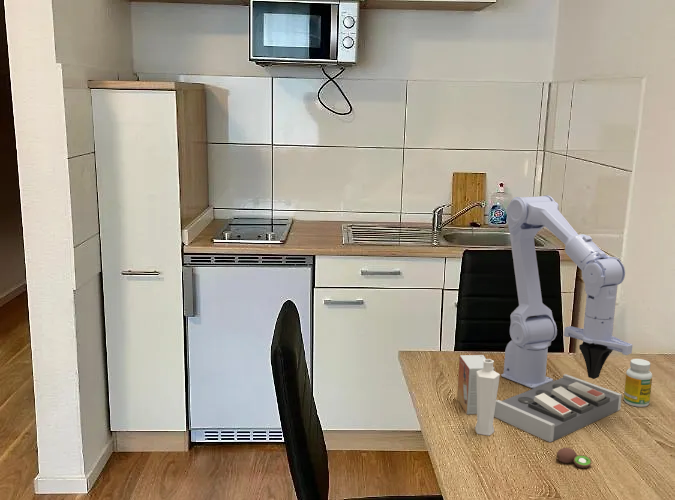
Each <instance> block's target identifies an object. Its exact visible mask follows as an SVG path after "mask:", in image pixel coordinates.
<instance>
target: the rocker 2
mask: <svg viewBox="0 0 675 500" xmlns="http://www.w3.org/2000/svg"><path fill="white" fill-rule="evenodd" d="M551 394H553V395H554V396H556V397H557V398H559V399H561V400H562V401H564V402H565V403H567V404H569V405H571V406H574V407H576V408H579V409H583V408H585V407H587V406H588V404H589V403H587V402H585V401H584V400H582V399H581V398H579V397H577V396H576V395H574V394H573V393H571V392H569V391H568V390H566V389H565V388H563V387H561V386H560V387H558V388H555V389H552V393H551Z"/></svg>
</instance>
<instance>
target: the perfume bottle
mask: <svg viewBox="0 0 675 500" xmlns="http://www.w3.org/2000/svg"><path fill="white" fill-rule="evenodd" d="M483 361H484V366H483V369H482V370H479V371H477V414H476V424H475V427H474V429H475V432H476V434H478V435H484V436H490V435H492V434H494V432H495V428H494V420H495V417H494V413H495V405H496V400H497V396H498V391H499V384H500V375H501V374H500V373H499V372H497V371H495V369H494V370H493V367H494V362H495V360H493V359H491V358H486V359H484V360H483Z"/></svg>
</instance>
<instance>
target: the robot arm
mask: <svg viewBox="0 0 675 500" xmlns="http://www.w3.org/2000/svg"><path fill="white" fill-rule="evenodd" d="M505 210H506V218H507V227H508V233H509V239H510V245H511V253H512V259H513V261H512V262H513V269H514V275H515V276H514V277H515V285H516V292H517V299H518V306H517V307H516V308H515V309H514V310H513V311H512V312H511V314H510V316H509V317H510V326H509V335H510V338H511V340H510V341H509V342H508V343H507V344H506V347H505V351H504V361H503V362H504V364H503V373H501V374H500V375H501V377H503V378H504V379H508V380H510V381H513V382H515V383H518V384H521V385H523V386H525V387H528V388H529V389H534V388H537V387H539V386H542V385H545V384H547V383H550V382H553V381H554V378H551V377H548V376H546V375H547V364H548V349H549V347H550V346H551V345H552V341H554V340H555V339H556V337H557V335H558V329H557V328H558V327H557V324H556V321H555V320H554V316H553V312H552V311H553V310H551V308H550V307H548V306H547V305H546V304H544V303H543V297H542V291H541V290H542V289H541V281H540V275H539V267H538V260H537V252H536V245H535V237H536V235H537V234H538V233H539V232H540V231H541V230H542V229H544V228H546V229H547V230H548V231H549V232H551V233H552V234H553V235H554V236H555V237H556V238H557V239H558V240H560V241H561V243H563V244H564V245H565V247H564V252H565V254H566V255H567V256H568V257H569V259H571V261H572V262H573V263H574V264H575V266H577V267H578V268H579V269H580V270H581V277H582V280H583V283H584V291H585V294H586V298H585V309H584V319H583V328H582V327H575V326H572V325H571V326H570V325H568V326H565V327H564V331H563V337H565V338H566V337H567V338H573V339H577V340H580V341H582V343H581V344H579V346H578V347H579V350H580V352H581V354H582V357H583V359H584V362H585V367H586V370H587V371H586V372H587V377H588V378H590V379H593V380H595V379H598V378H599V377H600V374H601V372H602V369H603V366H605V365H604V364H605V363H606V361H607V360H608V357H610V355H611V354H612V352H613V351H616V352H619V353H621V354H622V355H624V356H628V355H630V354H631V355H632V352H633V343H629V342H627V341H624V340H622V339H620V338H618V337H616V336H614V335H613V331H614V322H615V312H616V303H617V292H618V285H620V284H622V283H623V282H624V280H625V278H626V270H625V266H624V264H623V262H622V261H621V260H620V258H618V257H616V256H610V255H609V254H608V255H607V254H606V252H604V251H603V250H602V248H600V247H599V246H598V245H597V244H596V243H595V242H594V241H593V238H592V237H591V235H588V234H585V233H584V234H583V233H580V234H578V232H577V231H576V230H575V228H573V226H572V225H571V224H570V223H569V221H568V220H567V219H566V218H565V216H564V215H563V214H562V213H561V211H560V205H559V203H558V202H556V201H555V199H554V198H553V197H552V196H550V195H548V194H547V195H541V196H540V195H539V196H538V195H537V196H522V197H521V196H515V197H513V198H512V199H511V200H510V201H509V203H508V206H507V207H506V209H505Z"/></svg>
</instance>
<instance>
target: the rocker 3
mask: <svg viewBox="0 0 675 500" xmlns="http://www.w3.org/2000/svg"><path fill="white" fill-rule="evenodd" d="M568 390H571V391H573V392H575V393H578V394H580V395H582V396H584V397H587V398H589V399H591V400H594V401H596V402H597V401H599V400H602V399H604V398H605V394H604V393H602V392H599V391H597V390H595V389H592V388H590V387H588V386H585V385H583V384H580V383H578V382H575V383H572V384H570V385H568Z"/></svg>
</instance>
